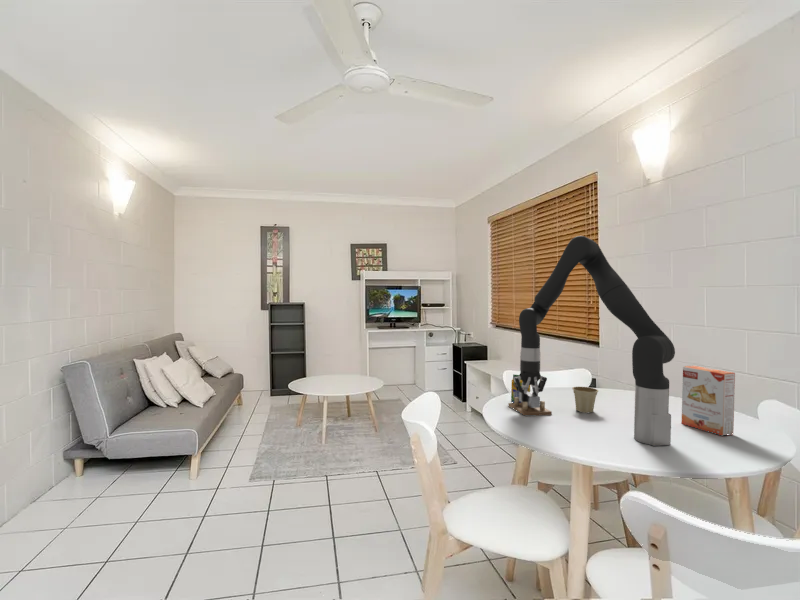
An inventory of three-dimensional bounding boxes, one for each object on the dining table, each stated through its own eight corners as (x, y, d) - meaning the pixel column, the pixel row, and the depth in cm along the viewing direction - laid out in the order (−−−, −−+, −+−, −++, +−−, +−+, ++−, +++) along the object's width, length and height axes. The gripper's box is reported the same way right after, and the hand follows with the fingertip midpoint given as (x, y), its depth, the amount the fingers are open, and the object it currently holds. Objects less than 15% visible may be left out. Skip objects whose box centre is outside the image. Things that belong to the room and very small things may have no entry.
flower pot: (592, 408, 172) (593, 386, 172) (601, 414, 163) (602, 392, 163) (568, 407, 173) (569, 386, 173) (576, 413, 164) (576, 391, 163)
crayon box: (510, 403, 179) (511, 375, 178) (512, 401, 181) (512, 374, 181) (528, 405, 175) (529, 377, 175) (530, 403, 178) (530, 375, 178)
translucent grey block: (539, 407, 163) (539, 397, 163) (531, 407, 163) (531, 397, 163) (527, 400, 173) (527, 390, 173) (519, 400, 173) (519, 391, 172)
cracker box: (680, 424, 152) (681, 365, 152) (691, 422, 154) (693, 365, 154) (722, 437, 139) (723, 373, 139) (734, 435, 141) (736, 372, 141)
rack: (551, 414, 162) (551, 403, 162) (524, 416, 160) (524, 404, 160) (533, 405, 176) (533, 394, 176) (508, 406, 174) (508, 395, 174)
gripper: (517, 360, 162) (517, 405, 163) (551, 360, 165) (551, 404, 165) (509, 357, 170) (508, 400, 170) (541, 357, 172) (541, 399, 173)
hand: (529, 402), depth 168 cm, fingers closed on translucent grey block, 3 cm apart
